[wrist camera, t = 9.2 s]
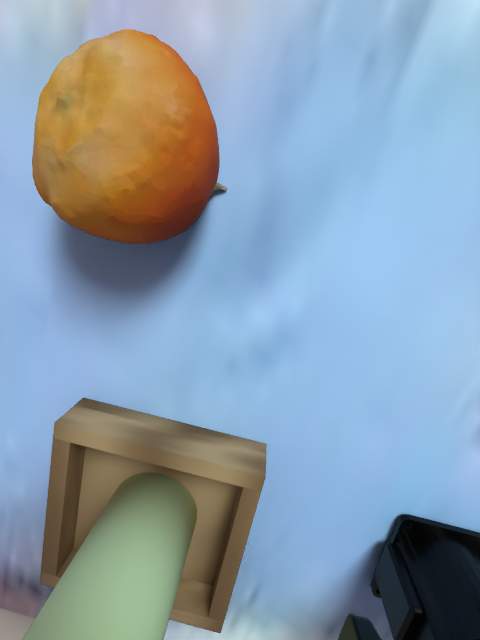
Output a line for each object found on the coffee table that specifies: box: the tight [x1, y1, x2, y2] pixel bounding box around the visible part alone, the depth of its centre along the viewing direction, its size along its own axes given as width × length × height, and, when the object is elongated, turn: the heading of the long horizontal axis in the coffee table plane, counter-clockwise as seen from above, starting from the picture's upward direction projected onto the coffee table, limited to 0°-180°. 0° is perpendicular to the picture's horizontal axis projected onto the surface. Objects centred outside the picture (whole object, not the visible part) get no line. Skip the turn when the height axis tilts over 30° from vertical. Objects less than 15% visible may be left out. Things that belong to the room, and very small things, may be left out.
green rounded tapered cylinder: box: [22, 472, 197, 640], centre depth 16 cm, size 6×6×13 cm
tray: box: [40, 398, 266, 633], centre depth 22 cm, size 12×12×3 cm
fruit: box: [32, 30, 227, 244], centre depth 15 cm, size 8×8×8 cm
